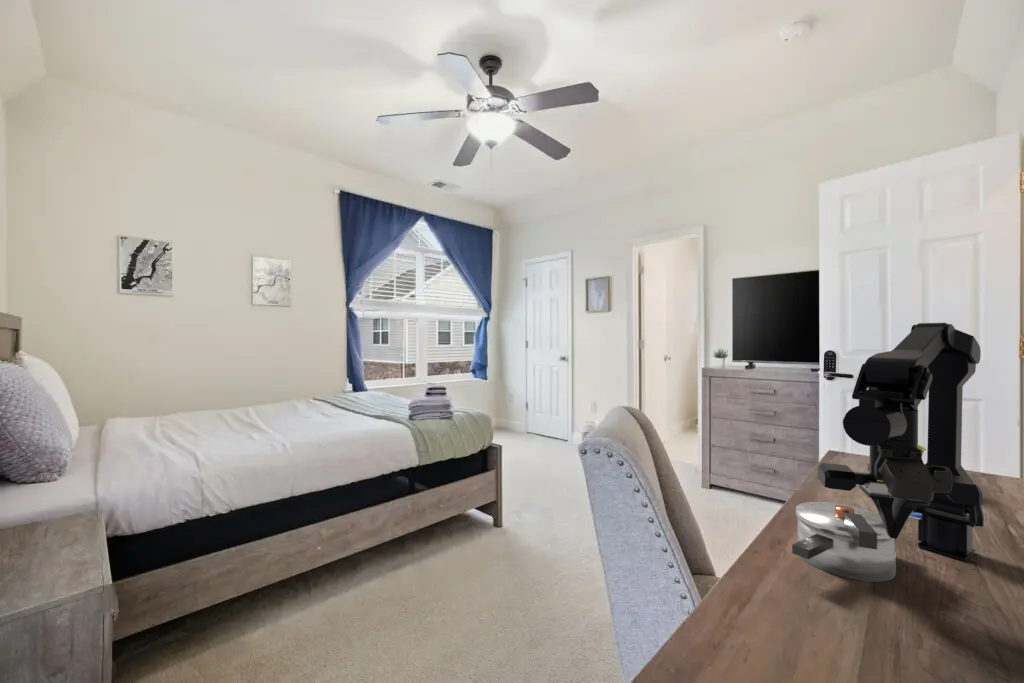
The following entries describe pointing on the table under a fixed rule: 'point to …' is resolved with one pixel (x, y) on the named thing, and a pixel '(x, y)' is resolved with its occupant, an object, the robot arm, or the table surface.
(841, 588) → the table surface
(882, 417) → the robot arm
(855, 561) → the pressure cooker pot
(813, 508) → the cooker lid
